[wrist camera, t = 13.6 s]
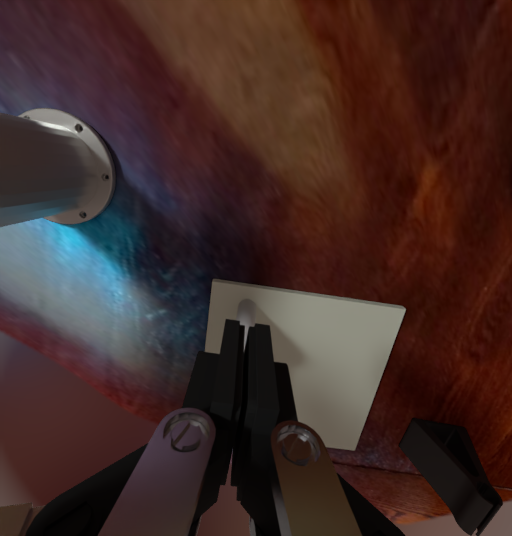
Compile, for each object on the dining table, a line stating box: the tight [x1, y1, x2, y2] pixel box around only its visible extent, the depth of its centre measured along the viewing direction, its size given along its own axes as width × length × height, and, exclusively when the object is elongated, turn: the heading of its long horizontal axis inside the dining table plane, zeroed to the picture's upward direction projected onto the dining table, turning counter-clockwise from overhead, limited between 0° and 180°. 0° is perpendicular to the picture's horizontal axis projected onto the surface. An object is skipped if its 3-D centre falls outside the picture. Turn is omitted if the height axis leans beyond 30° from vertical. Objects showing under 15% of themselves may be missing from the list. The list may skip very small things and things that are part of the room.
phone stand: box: [399, 418, 503, 536], centre depth 41 cm, size 9×6×12 cm, turn 77°
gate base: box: [205, 279, 406, 451], centre depth 37 cm, size 26×26×12 cm
